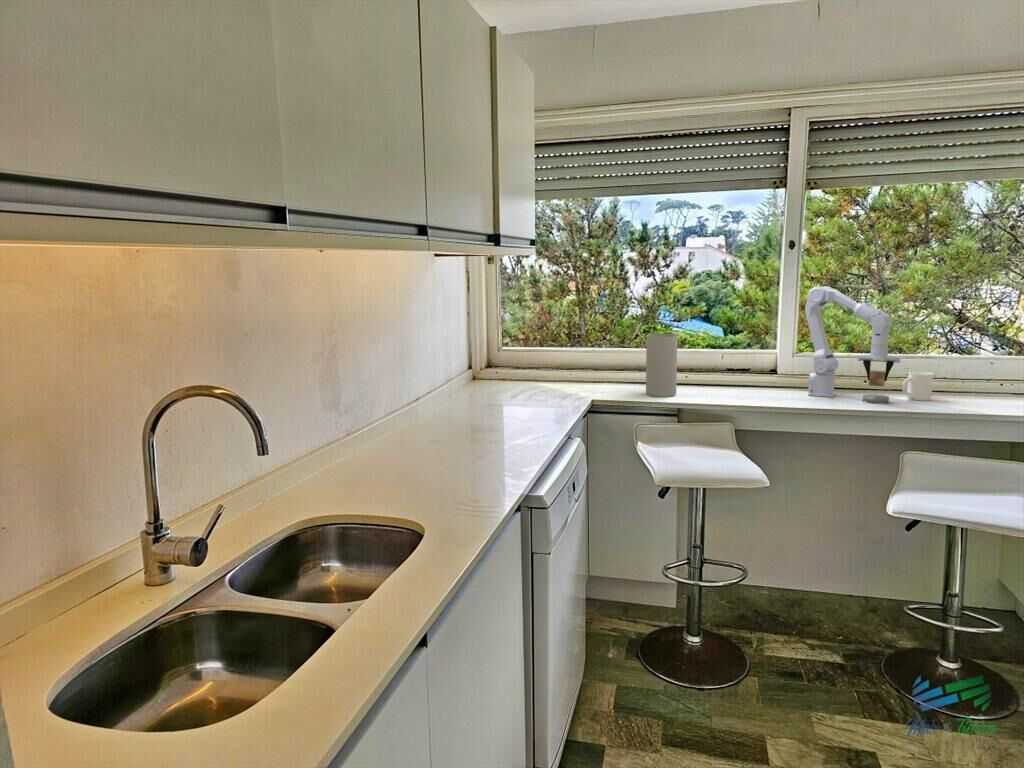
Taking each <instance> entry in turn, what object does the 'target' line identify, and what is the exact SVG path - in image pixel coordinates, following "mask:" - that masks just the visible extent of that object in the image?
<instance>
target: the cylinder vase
mask: <svg viewBox="0 0 1024 768" xmlns="http://www.w3.org/2000/svg"><path fill="white" fill-rule="evenodd" d="M645 347H646V352H645V353H646V355H645V356H646V357H645V358H646V360H645V362H646V363H645V376H646V377H645V393H646V395H647V396H649V397H656V398H670V397H675V395H677V378H678V377H677V376H678V375H677V374H678V373H677V372H678V371H677V370H678V334H670V333H653V334H647V335H646V346H645Z"/></svg>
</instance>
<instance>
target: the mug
mask: <svg viewBox="0 0 1024 768" xmlns="http://www.w3.org/2000/svg"><path fill="white" fill-rule="evenodd" d="M933 381H934V373H932V372H928V371H909V372H908V375H907V378H905V379H904V380H903V382H902V386H901V390H902V393H903V394H904V395H905V396H906V398H907V399H908V398H909V399H908V400H910V399H913V400H912V401H916V400H928V401H930V400H932V391H933V384H934V383H933Z"/></svg>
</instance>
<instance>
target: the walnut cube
mask: <svg viewBox="0 0 1024 768" xmlns="http://www.w3.org/2000/svg"><path fill="white" fill-rule="evenodd" d="M885 373H886V370H885V371H882V370H881V371H880V370H870V377H869V380H868V386H870V387H871V386H873V387H884V386H885V384H886V383H885V382H886V381H884V380H885Z"/></svg>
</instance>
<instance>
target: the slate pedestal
mask: <svg viewBox="0 0 1024 768" xmlns="http://www.w3.org/2000/svg"><path fill="white" fill-rule="evenodd" d="M863 401H866V402H872V403H871V404H873V403H887V404H889V403H890V397H889V396H888V395H884V394H875V393H874V394H871V393H869V394H863V395H862V402H863ZM866 402H865V403H866ZM888 402H889V403H888Z"/></svg>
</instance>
